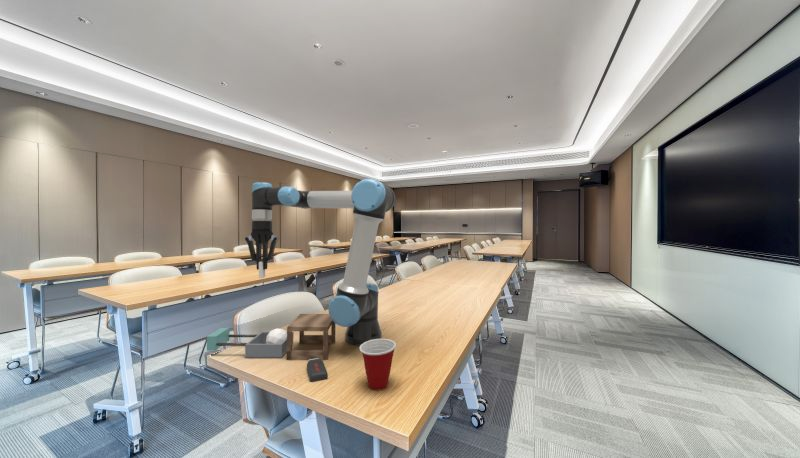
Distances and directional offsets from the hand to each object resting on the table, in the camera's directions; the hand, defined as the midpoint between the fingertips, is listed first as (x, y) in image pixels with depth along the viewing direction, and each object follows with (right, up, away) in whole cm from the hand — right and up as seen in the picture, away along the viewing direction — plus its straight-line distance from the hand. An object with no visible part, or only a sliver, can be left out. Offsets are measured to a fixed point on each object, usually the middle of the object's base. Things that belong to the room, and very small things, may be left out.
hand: (261, 277), depth 118 cm
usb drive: (+30, -26, -27) cm, 48 cm away
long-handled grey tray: (+2, -25, -12) cm, 28 cm away
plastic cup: (+50, -26, -34) cm, 66 cm away
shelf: (+24, -26, -11) cm, 37 cm away
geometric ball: (+11, -26, -10) cm, 30 cm away
